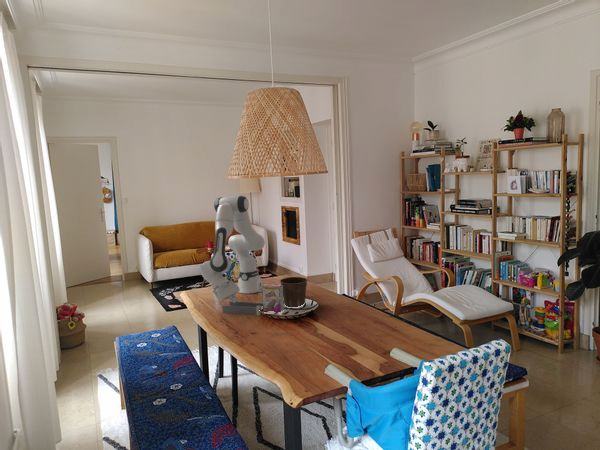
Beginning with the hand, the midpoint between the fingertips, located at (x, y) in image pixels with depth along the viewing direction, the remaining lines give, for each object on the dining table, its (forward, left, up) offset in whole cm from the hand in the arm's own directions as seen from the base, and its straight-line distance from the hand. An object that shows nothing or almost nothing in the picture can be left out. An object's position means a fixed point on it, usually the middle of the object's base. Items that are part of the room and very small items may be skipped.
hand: (236, 301), depth 262 cm
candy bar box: (+1, +24, -6) cm, 25 cm away
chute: (0, +5, -5) cm, 8 cm away
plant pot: (-14, +31, -6) cm, 35 cm away
